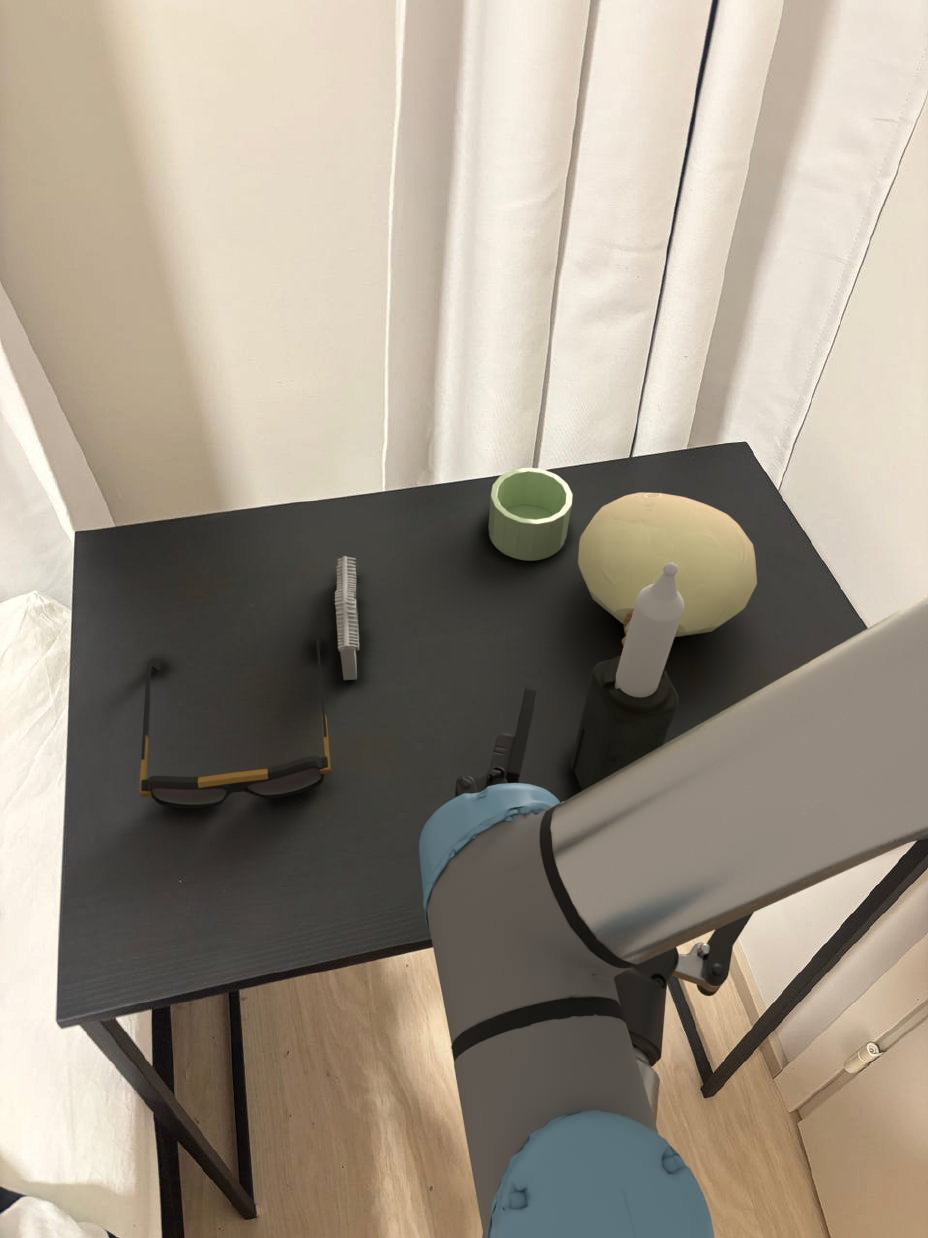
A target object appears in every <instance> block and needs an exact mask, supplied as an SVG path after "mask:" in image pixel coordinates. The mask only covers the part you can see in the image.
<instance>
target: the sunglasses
mask: <svg viewBox="0 0 928 1238" xmlns="http://www.w3.org/2000/svg"><path fill="white" fill-rule="evenodd" d="M315 644H316V645H315V646H316V658H317V667H318V679H319V693H320V694H319V695H320V704H321V725H322V736H323V745H324V747H323V749H324V756H318V755H309V756H304V757H301V758H298V759H294V760H291V761H289V762H285V763H282V764H277V765H273V766H270V767H266V768H261V769H253V770H245V771H243V770H242V771H236V772H228V773H221V774H213V775H207V776H178V775H177V776H176V775H150V776H149V777H148V778H147V774H148V773H147V772H148V756H149V754H148V753H149V729H150V713H151V712H150V709H151V678H152V677H151V676H152V669H153V671H156V672H158V671H161V664H160V659H159V658H158V657H149V658H148V660H147V664H146V674H145V675H146V676H145V690H144V706H143V720H142V721H143V723H142V734H141V735H142V737H141V757H140V770H139V787H138V796H141V798H147V797H151V798H152V799H153V800H154V801H155V803H157V804H158V805H160V806H164V807H169V808H174V809H183V810H185V809H205V808H209V807H214V806H218V805H220V804H223V802H224V801H225V800H227V798H228V797H229V796H230V795H231V794H235V793H242V792H244V793H246V794H250V795H253V796H254V797H259V798H262V799H282V798H286V797H291V796H295V795H300V794H303V793H305V792H308V791H311V790H313V789H315V788H317V787H319V786H320V785H322V784H323V783H324V780H325V775H326V774H331V773H332V772H331V771H332V768H331V755H330V743H329V742H330V741H329V740H330V739H329V730H328V717H327V715H326V706H325V705H326V704H325V693H324V682H323V673H322V672H323V671H322V660H321V654H322V644H321V639H319V638H318V639H316V643H315Z"/></svg>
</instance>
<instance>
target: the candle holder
mask: <svg viewBox="0 0 928 1238" xmlns="http://www.w3.org/2000/svg"><path fill="white" fill-rule="evenodd" d="M489 502H490V503H489V512H488V513H489V515H488V528H487V529H488V536H489V540H490V541H491V543H492V544H493V546H494V547H495V548H496V549H497V550H498V551H499V552H501V553H502V554H503V555H505V556H507V557H509V558H512V559H516V560H520V561H528V562H530V561H533V562H534V561H540V560H544V559H548V558H549V557H552V556H553V555H555V554H557V553H558V552H559V551H560V550H561V549H562V547H563V546H564V545H565V542H566V539H567V536H568V529H569V523H570V518H571V511H572V507H573V492H572V491H571V488H570V486H569V485H568V483H567V482H566V481H565V480H564V479H562V478H561V477H560V476H559V475H558V474H555V473H553V472H551V471H549V470H546V469H542V468H534V467H521V468H516V469H512V470H509V471H507V472H506V473H503V474H501V475H500V476H499V477H498V478H497V479H496V480H495V482H494V483H493V484H492V486H491V492H490V501H489Z"/></svg>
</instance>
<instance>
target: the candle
mask: <svg viewBox="0 0 928 1238" xmlns="http://www.w3.org/2000/svg"><path fill="white" fill-rule="evenodd" d="M663 570H664V572H663V573H662V575H661V576H660V577H659V578H658V579H657V580H656V582H655V583H654V584H651V585H649V586H647V587H645V588H644V589H642V590H641V592H640V593H639V594H638V597H637V599H636V603H635V607H634V611H633V614H632V618H631V622H630V625H629V629H628V633H627V636H626V635H625V636H626V640H625V644H624V646H623V648H622V652H621V654H620V655H617V656H616V657H614V658H612V659H608V660H603V661H600V662H598V663H596V664H595V666H594V667H593V669H592V672H591V677H590V680H589V686H588V688H587V692H586V697H585V701H584V705H583V709H582V714H581V718H580V723H579V726H578V731H577V734H576V739H575V744H574V748H573V752H572V757H571V761H570V770H571V773H574V774H575V777H576V779H577V782H578V784H579V787H580V789H581V792H582V791H583V790H585V789H587V788H589V787H590V786H592V785H594V784H596V783H597V782H599V781H601V780H603V779H604V778H606V777H608V776H610V775H611V774H613V773H615V772H617V771H618V770H620V769H622V768H624V767H625V766H627V765H629V764H631V763H632V762H634V761H636V760H638V759H640V758H641V757H643V756H645V755H647V754H648V753H650V752H652V751H654V750H655V749H657V748H659V747H661V746H662V745H664V744H665V740H666V737H667V734H668V732H669V729H670V726H671V724H672V721H673V718H674V716H675V713H676V711H677V708H678V704H679V696H678V695H679V694H678V693H677V690H676V689H675V687H674V685H673V683H672V681H671V677H670V676H668V673H667V672H666V668H665V666H666V665H667V660H668V658H669V655H670V652H671V648H672V646H673V643H674V640H675V638H676V637H675V634H676V631H677V628H678V625H679V622H680V619H681V616H682V613H683V610H684V601H683V599H682V597H681V595H680V593H679V592H678V591H677V586H676V578H675V574H677V572H678V567H677V565H676V564H675V563H672V562H671V563H667V564H665V566H664V568H663Z"/></svg>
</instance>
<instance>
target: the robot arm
mask: <svg viewBox="0 0 928 1238" xmlns="http://www.w3.org/2000/svg"><path fill="white" fill-rule="evenodd" d="M536 697H537V690H536V689H531V688H527V687H526V688H524V693H523V698H522V701H521V707H520V712H519V716H518V721H517V725H516V730H515V734H514V735H513V734H509V733H505V732H500V733H499V735H498V736H497V738H496V739H495V743H494V746H493V747H494V748H493V752H492V755H491V756H492V757H491V761H490V765H489V769H488V770H487V772H486V774H485V775H483V776H481V777H475V778H473V777H472V776H470V775H461V776H459V777H458V778H457V779H456V781H455V791H454V792H455V793H454V798H452V799H450V800H449V801H447V802H445V803H444V804H443V805H441V806H440V807H439V808H438V809H436V810H435V811H434V812H433V814H432V815H431V816H430V817H429V818H428V819H427V821H426V822H425V823H424V825H423V828H422V831H421V834H420V836H419V841H418V854H419V855H418V856H419V865H420V876H421V885H422V894H423V895H422V896H423V899H422V905H423V907H422V908H423V914H424V921H425V923H426V926H427V928H428V930H429V933H430V938H431V943H432V949H433V955H434V959H435V965H436V970H437V975H438V981H439V985H440V992H441V996H442V1002H443V1008H444V1012H445V1018H446V1022H447V1028H448V1032H449V1038H450V1044H451V1045H450V1049H451V1054H452V1059H453V1068H454V1069H453V1070H454V1074H455V1081H456V1086H457V1093H458V1099H459V1103H460V1108H461V1115H462V1121H463V1127H464V1132H465V1139H466V1144H467V1150H468V1151H467V1152H468V1157H469V1162H470V1167H471V1173H472V1178H473V1184H474V1190H475V1195H476V1196H475V1197H476V1201H477V1207H478V1213H479V1217H480V1223H481V1229H482V1235H481V1238H715V1232H714V1231H715V1230H714V1226H713V1220H712V1216H711V1212H710V1208H709V1205H708V1203H707V1200H706V1197H705V1195H704V1192H703V1190H702V1188H701V1186H700V1183H699V1182H698V1180H697V1178H696V1177H695V1175H694V1173H693V1171H692V1169H691V1167H689V1166H688V1165H687V1164H686V1163H685V1161H684V1159H683V1158H682V1156H681V1154H680V1153H678V1152H677V1150H676V1149H674V1148H673V1146H671V1145H670V1143H669V1142H668V1140H667V1139H665V1138H664V1137H663V1136H661V1134H659V1131H658V1127H657V1119H658V1105H659V1096H660V1095H659V1093H660V1083H661V1082H660V1081H661V1078H660V1076H659V1074H658V1073H657V1072H656V1071H655V1069H654V1068H653V1067H654V1066H656V1064H657V1063H658V1062H659V1061H660V1060H661V1058H662V1053H663V1039H664V1029H665V1028H664V1027H665V1015H666V1014H665V1013H666V1004H667V1003H666V1001H667V989H668V985H669V981H670V979H671V977H674V978H677V979H678V980H679V979H680V980H682V981H686V982H688V983H692V984H695V985H696V989H697V991H698V992H699V993H700V994H701V995H702V996H703V995H704V996H706V997H711V996H714V995H716V994H717V992H718V991H719V990H720V989H721V987H722V986H723V984H724V983H725V982H726V981H727V979H728V977H729V974H730V967H731V962H732V955H733V948H734V945H735V943H736V942H737V940H738V938H739V937H740V935H741V934H742V932H743V930H744V929H745V928H746V925H747V924H748V922H749V921H750V919H751V918H752V916H753V915H754V913H756V912H758V911H760V910H762V909H764V908H766V907H769V906H771V905H774V904H775V903H777V902H780V901H782V900H784V899H787V898H789V897H791V896H793V895H796V894H797V893H800V892H802V891H804V890H807V889H809V888H811V887H814V886H815V885H818V884H821V883H822V882H825V881H826V880H830V879H831V878H833V877H835V876H838V875H840V874H843V873H845V872H847V871H849V870H851V869H853V868H856V867H859V866H860V865H862V864H865V863H867V862H869V861H872V860H874V859H876V858H878V857H881V856H882V855H885V854H887V853H889V852H892V851H893V850H896V849H898V848H900V847H902V846H905V845H907V844H909V843H911V842H914V841H915V840H918V839H921V838H922V837H925V836H927V835H928V593H927V594H926V595H924V596H922V597H920V598H918V599H916V600H915V601H913V602H912V603H909V604H908V605H906V606H905V607H903V608H901V609H899V610H897V611H896V612H894V613H892V614H890V615H889V616H887V617H885V618H883V619H882V620H880V621H877V623H875V624H873V625H871V626H869V627H867V628H865V629H863V630H862V631H860V632H859V633H857V634H855V635H854V636H852V637H850V638H848V639H846V640H845V641H843V642H842V643H839V644H837V645H836V646H835V647H833V648H831V649H829V650H827V651H826V652H823V653H822V654H820V655H819V656H816V657H815V658H813V659H811V660H810V661H808V662H806V663H804V664H802V665H801V666H799V667H798V668H796V669H794V670H792V671H790V672H789V673H787V674H785V675H783V676H782V677H780V678H778V679H776V680H774V681H773V682H771V683H770V684H767V685H766V686H764V687H762V688H761V689H759V690H757V691H756V692H753V693H752V694H750V695H748V696H747V697H745V698H743V699H741V700H740V701H738V702H736V703H734V704H732V705H731V706H729V707H727V708H726V709H723V710H721V711H720V712H719V713H716V714H715V715H713V716H712V717H710V718H708V719H706V720H705V721H703V722H701V723H699V724H697V725H696V726H694V727H692V728H691V729H689V730H687V731H685V732H683V733H682V734H680V735H678V736H677V737H675V738H672V739H671V740H669V741H667V742H666V743H663V745H662V746H661V747H659V748H657V749H655V750H654V751H652V752H650V753H648V754H647V755H645V756H643V757H641V758H640V759H638V760H636V761H634V762H632V763H631V764H629V765H627V766H625V767H624V768H622V769H620V770H618V771H617V772H615V773H613V774H611V775H610V776H608V777H606V778H604V779H603V780H601V781H599V782H597V783H596V784H594V785H592V786H590V787H589V788H587V789H585V790H583V791H582V790H581V791H580V792H578V793H576V794H574V795H572V796H571V797H569V798H568V799H565V800H564V801H561V802H560V800H559V799H558V798H557V797H556V796H555V794H553V793H552V792H550V791H549V790H547V789H546V788H543V787H540V786H538V785H534V784H532V783H531V784H530V783H523V782H520V778H521V773H522V768H523V763H524V759H525V758H524V757H525V753H526V749H527V744H528V739H529V734H530V730H531V724H532V721H533V714H534V709H535V704H536V703H535V702H536ZM710 932H712V934H711V936H710V937H709V938H708V940H707V942H697V943H695V944H694V945H693V946H692V947H691V949H690V951H689V952H687V953H686V954H685V953H683V954H681V953H679V951H678V948H677V947H681V946H682V945H684V944H686V943H688V942H690V941H691V942H692V941H694V940H695V939H697V938H700V937H702V936H705V935H706V934H709V933H710Z"/></svg>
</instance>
